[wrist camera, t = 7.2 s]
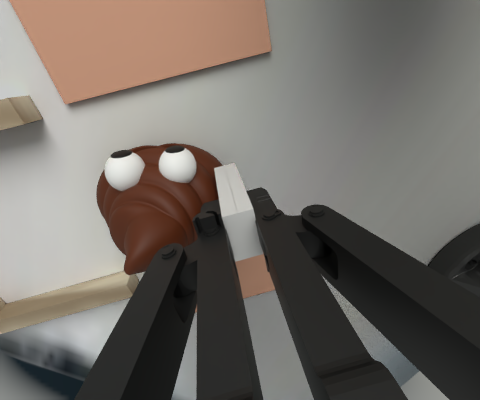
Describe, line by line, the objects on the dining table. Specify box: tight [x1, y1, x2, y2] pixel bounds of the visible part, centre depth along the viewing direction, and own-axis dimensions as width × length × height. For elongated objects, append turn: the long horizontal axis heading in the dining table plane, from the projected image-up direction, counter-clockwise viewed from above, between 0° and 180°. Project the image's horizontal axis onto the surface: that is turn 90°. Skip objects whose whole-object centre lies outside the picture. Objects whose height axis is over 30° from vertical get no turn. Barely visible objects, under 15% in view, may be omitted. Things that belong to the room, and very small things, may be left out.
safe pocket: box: [0, 96, 139, 334], centre depth 19 cm, size 17×14×2 cm
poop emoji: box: [97, 143, 223, 275], centre depth 16 cm, size 10×8×9 cm
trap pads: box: [9, 0, 275, 312], centre depth 20 cm, size 29×14×1 cm, turn 13°
